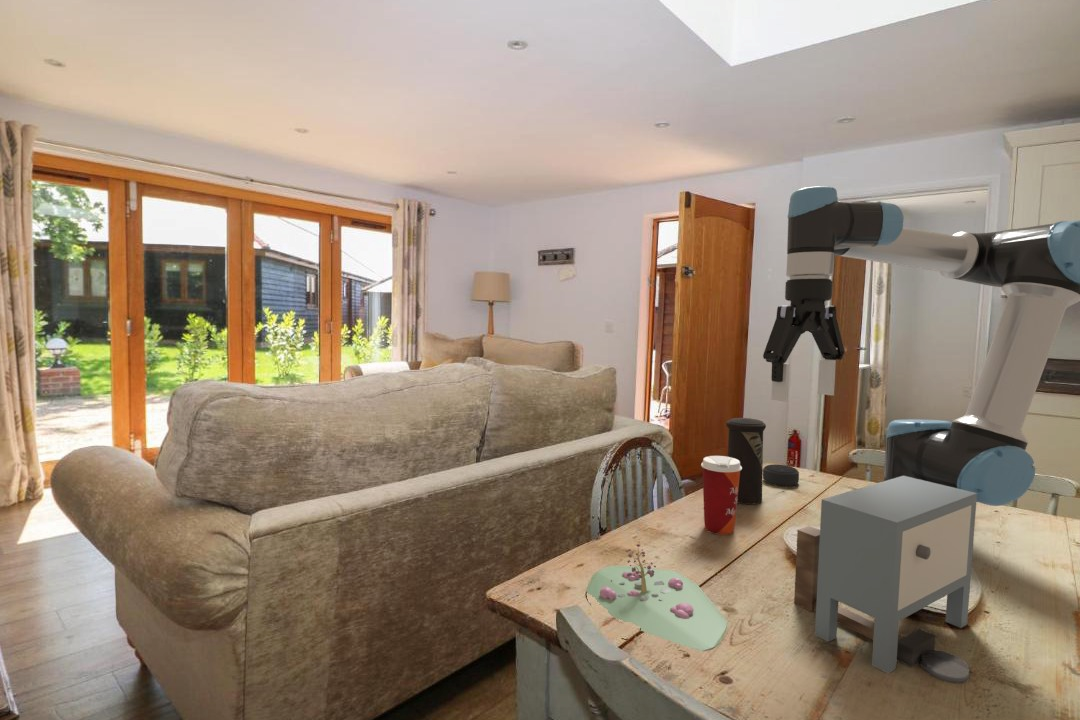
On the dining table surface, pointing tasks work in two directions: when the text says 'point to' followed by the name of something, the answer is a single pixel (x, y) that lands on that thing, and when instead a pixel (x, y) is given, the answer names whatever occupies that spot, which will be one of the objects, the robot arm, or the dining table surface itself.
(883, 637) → the cabinet
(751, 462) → the container
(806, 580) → the pusher tool
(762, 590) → the dining table surface
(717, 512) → the coffee cup
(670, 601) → the miniature garden model
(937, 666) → the silver flat dome
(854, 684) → the dining table surface
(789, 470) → the smart speaker
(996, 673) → the dining table surface
